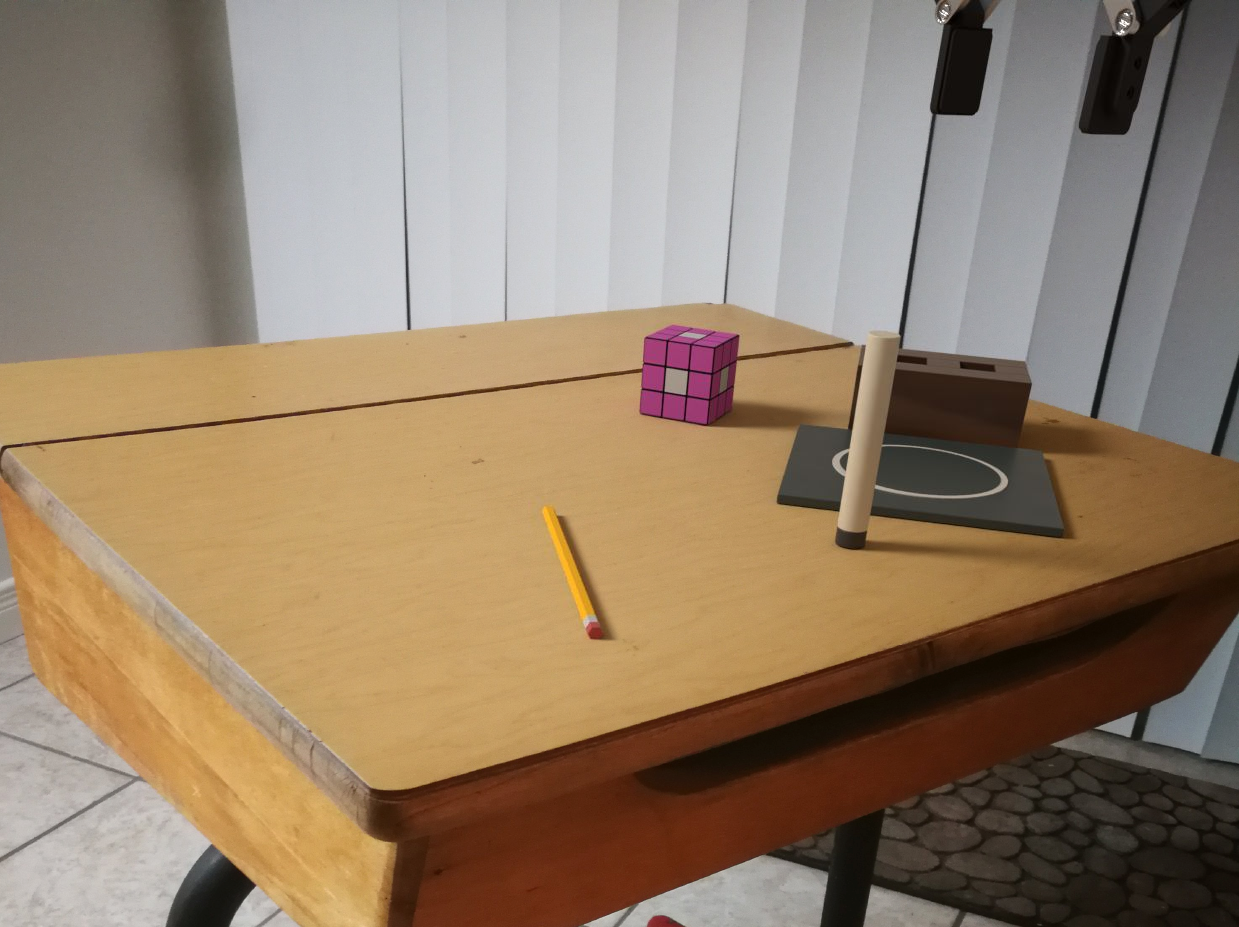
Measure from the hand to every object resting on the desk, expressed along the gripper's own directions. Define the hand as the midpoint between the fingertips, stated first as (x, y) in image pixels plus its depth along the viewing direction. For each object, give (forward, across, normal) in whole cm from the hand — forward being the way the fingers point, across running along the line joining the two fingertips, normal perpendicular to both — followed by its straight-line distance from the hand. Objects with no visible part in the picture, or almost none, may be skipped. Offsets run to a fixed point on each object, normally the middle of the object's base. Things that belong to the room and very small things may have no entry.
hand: (1024, 123), depth 65 cm
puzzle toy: (+23, +31, -4) cm, 39 cm away
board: (+22, +10, -9) cm, 26 cm away
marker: (+22, +3, +5) cm, 23 cm away
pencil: (+23, +7, +22) cm, 33 cm away
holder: (+22, +19, -20) cm, 36 cm away
